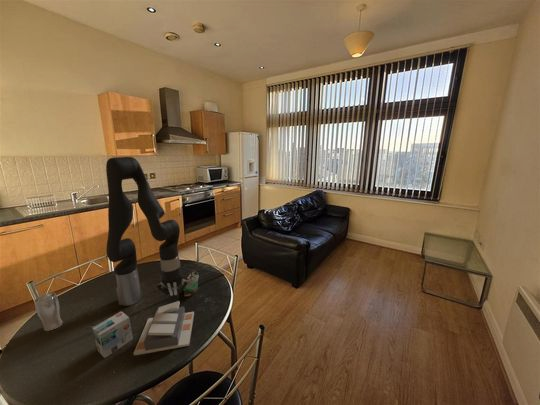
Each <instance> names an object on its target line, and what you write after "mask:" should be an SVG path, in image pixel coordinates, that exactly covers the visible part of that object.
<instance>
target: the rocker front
mask: <svg viewBox="0 0 540 405" xmlns="http://www.w3.org/2000/svg"><path fill="white" fill-rule="evenodd" d="M175 325H176V324H151V327H150V329H149V332H148V335H173V333H174V330H175Z"/></svg>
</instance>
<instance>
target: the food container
mask: <svg viewBox="0 0 540 405" xmlns="http://www.w3.org/2000/svg"><path fill="white" fill-rule="evenodd" d="M199 277H200V276H199V273H198V272H197V271H196V270H194V269H190V272H189V274H188V275H187V276H186V278H185V280H186V279H188V283H187V285H186V287H185V288H184V289H183V294H184V298H190V297H192V296H195V295H196V294H197V293H198V290H199V284H198V281H199Z"/></svg>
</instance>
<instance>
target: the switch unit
mask: <svg viewBox="0 0 540 405" xmlns="http://www.w3.org/2000/svg"><path fill="white" fill-rule="evenodd" d="M185 310H186V309H185V306H184V305H183V306H179V308H178V310H175V311H172V312H169V313H173V314H178V318H177V322H176V325H175V330H174V333H173V335H148V332H149V329H150V327H151V324H168V323H153V319H154V317H155V314H156V313H157V311H158V309H157V310H155V313H154V315H153V317H149V318H147V321H146V323H145V326H144V328H143V330H142V332H141V335H140V337H139V340H138V342H137V344H136V347H135V349H134V352H133V356H140V355H146V354H151V353H157V352H161V351H165V350H166V351H167V350H172V349H177V348H183V347H188V346H190V343H191V337H192V328H193V323H194V316H195V311H191V312H190V311H189V312H186V311H185Z"/></svg>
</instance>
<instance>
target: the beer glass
mask: <svg viewBox="0 0 540 405" xmlns="http://www.w3.org/2000/svg"><path fill="white" fill-rule="evenodd" d="M34 307H35V311H36V314H37V316H38V318H39V319H40V320H41V322H42V324H43V331H44V330H45V331H49V330H53V329H56V328H58V327H59V328H60V327H62V326H63V324H64V322H63V320H62V318H61V315H60V302H59V299H58V296H57V294H56V293H55V292H48V293H47V292H46V293H45V294H42V295H39V296H37V297H36V298H35V299H34ZM62 323H63V324H62ZM59 328H58V329H59ZM56 330H57V329H56ZM45 331H44V332H45Z"/></svg>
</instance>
